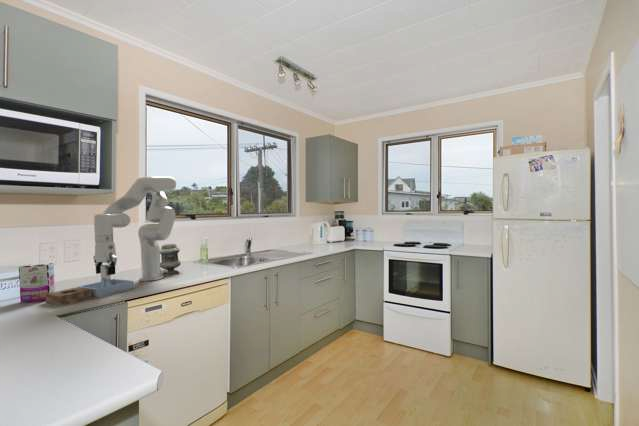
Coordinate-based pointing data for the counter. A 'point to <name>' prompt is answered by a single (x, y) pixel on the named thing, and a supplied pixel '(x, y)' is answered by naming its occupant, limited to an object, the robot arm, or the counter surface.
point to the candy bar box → (36, 282)
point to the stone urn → (169, 258)
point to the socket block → (68, 296)
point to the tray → (108, 287)
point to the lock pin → (105, 276)
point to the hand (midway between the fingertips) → (105, 273)
